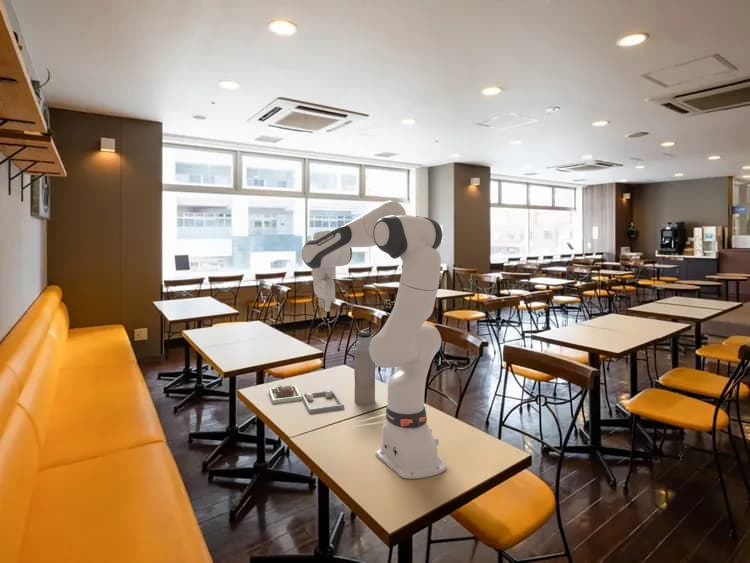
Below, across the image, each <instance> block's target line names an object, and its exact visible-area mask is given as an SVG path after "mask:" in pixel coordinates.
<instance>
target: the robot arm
mask: <svg viewBox="0 0 750 563" xmlns="http://www.w3.org/2000/svg"><path fill="white" fill-rule="evenodd" d="M442 241H443V230H442V226H441V225H440V223H438V222H437V221H436V220H434V219H433V218H428V217H426V216H419V215H415V216H413V215H409V214H407V211H406V209H405V208H404V206H403V205H402V204H401V203H399V202H398V201H396V200H386V201H383V202H381V203H379V204H377V205H375V206H373V207H372V208H370V209H368V210H367V211H366V212H364V213H363V214H361V215H360V216H359V217H356V218H355V219H353V220H351V221H349V222H347V223H346V224H344V225H341V226H339V227H338V228H335V229H334V230H329V229H327V230H318V231H316V232H314V233H313V237H312V239H309V240H307V241H306V243H305V244H304V245H303V247H302V249H301V259H302V261H303V262H304V264H305V265H306V266H307V267H308V268H310V269H312V270H311V273H310V274H311V277H312V283H313V292H314V294H315V295H316V296H317V299H318V307H319V308H324V312H327V313H329V312H330V311H331V306H332V302H333V301H335V300H336V289H335V288H336V285H335V281H334V280H333V279H336V278H337V277H336V272H337V270H336V268H337V267H343V266H347V265H349V263H350V262H351V260H352V257H353V249H352V248H370V247H375V246H377V248H378V250H380V251H382V252H383V253H385V254H387V255H389V257H390V258H392V259H394V260H395V259H398V258H400V259H401V262H402V270H401V274H400V279H399V284H398V290H397V294H396V299H395V303H394V304H393V305H394V306H393V308H392V310H391V312H390V314H389V316H388V318H387V319H386V322H384V324H383V326H382V328H381V329H380V330H379V331H378V333H376V334H375V335H374V336H373V337H371V342H370V347H369V351H370V356H371V358H372V360H373V362H374V363H375V366H378V368H383V369H387V368H389V369H390V368H392V369H393V368H394V369H395V371H394V373H392V375H391V376H390V377H389V379H388V382H387V405H386V408H385V418H386V421H385V422H384V424H383V425H382V427H381V434H380V446H379V447H380V448H379V449H377V450H376V452H375V453H376V454H375V456H376V457H377V458H378V459H379V460H380V461H382V462H383V463H384V464H386V465H387V466H388V467H389V468H390V469H391V470H393V471H394V472H395V473H396V474H397V475H398V476H400V478H403V479H423V478H429V477H432V476H435V475H439V474H441V473H443V472H445V470H446V469H447V466H446V463H445V462H444V460H443V458H442V457H441V455H440V452H439V451H438V446H439V445H440V442H439V438H438V437H434V436H433V429H432V428H431V427H430V426H429V425H428V416H427V411H426V407H425V389H426V388H425V387H426V379H427V376H428V373H429V369H430V366H431V364H432V361H433V359H434V358H435V355H436V354H437V353H438V351H439V350H440V349H441V346H442V337H441V333H440V331H439V330H438V328H437V327H436V326H435V325H433V324H429V323H425V322H426V321H427V320H428V319H429V318H430V317H431V316H432V315H433V312H434V308H435V305H436V304H435V303H436V298H437V293H438V289H439V284H440V279H441V278H440V277H441V267H442V266H441V264H442V258H441V255H440V253H439V252H438V250H437V249H438V248H439V247H440V245H441V243H442Z"/></svg>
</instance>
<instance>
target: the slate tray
mask: <svg viewBox="0 0 750 563" xmlns="http://www.w3.org/2000/svg"><path fill="white" fill-rule="evenodd" d="M327 391H328V390H325V391H316V392H315V391H314V392H308V393H300V395H301V400H302V401H303V403H304V405H305V407H306V408H307V409H306V410H307V411H308V413H309V414H314V413H321V412H328V411H335V410H342V409H345V404H344V403H343V401H342V400H341V398H340V397H339V396H338V394H337V393H336V391H335V390H334V389H331V390H329V391H331V392H332V393H333V396H332V398H334V400H336V401H335V402H337V404H334V405H332V404H331V405H327V406H318V407H311V405H310V403H309V401H307V399H306V395H307V394H309V393H311V394H313V396H314V397H321V396H322V397H324V396H325V393H326V392H327Z"/></svg>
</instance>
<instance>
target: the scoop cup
mask: <svg viewBox="0 0 750 563" xmlns="http://www.w3.org/2000/svg"><path fill="white" fill-rule="evenodd" d="M289 385H290V390H287V391H280V387H279V386H276V387H275V388H276V394H275V395H276V396H277V397H276V398H277V399H279V398H287V397H295V394H294V392H295V390H293V388H292V386H293V385H291V384H289Z"/></svg>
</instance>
